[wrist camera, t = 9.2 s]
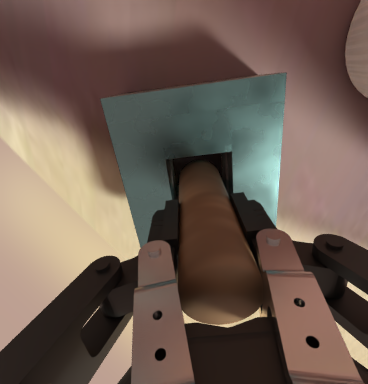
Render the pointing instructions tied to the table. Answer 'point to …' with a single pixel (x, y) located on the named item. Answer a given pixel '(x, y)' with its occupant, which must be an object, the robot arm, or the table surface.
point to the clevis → (198, 139)
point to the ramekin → (358, 49)
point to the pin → (213, 251)
